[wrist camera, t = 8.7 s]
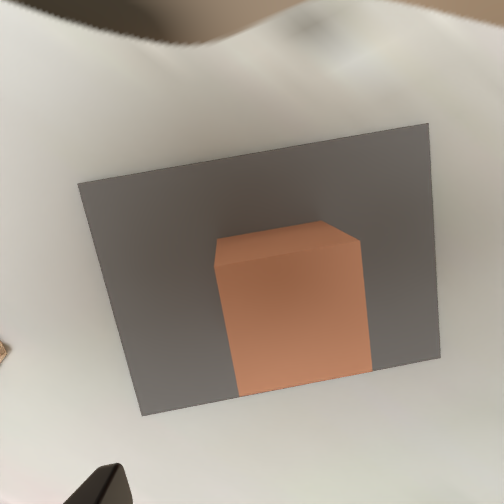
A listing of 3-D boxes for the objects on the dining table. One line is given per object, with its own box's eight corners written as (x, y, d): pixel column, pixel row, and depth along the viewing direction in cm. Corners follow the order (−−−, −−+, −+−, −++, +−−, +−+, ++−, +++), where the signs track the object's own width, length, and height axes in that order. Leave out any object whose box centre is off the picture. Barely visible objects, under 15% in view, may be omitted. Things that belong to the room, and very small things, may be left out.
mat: (424, 123, 17) (428, 123, 16) (437, 354, 19) (440, 357, 19) (79, 183, 16) (77, 183, 16) (143, 412, 19) (142, 416, 19)
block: (321, 220, 17) (360, 240, 12) (332, 317, 18) (372, 371, 13) (216, 238, 17) (213, 266, 12) (235, 335, 18) (239, 396, 13)
